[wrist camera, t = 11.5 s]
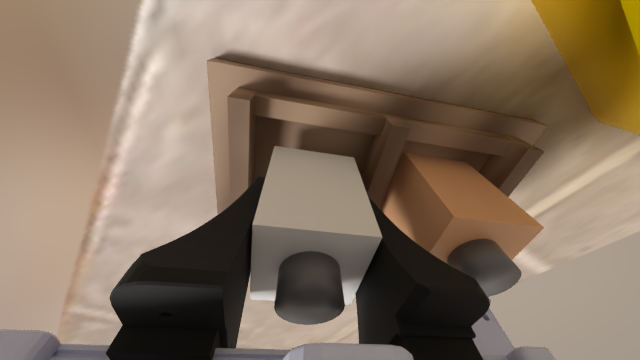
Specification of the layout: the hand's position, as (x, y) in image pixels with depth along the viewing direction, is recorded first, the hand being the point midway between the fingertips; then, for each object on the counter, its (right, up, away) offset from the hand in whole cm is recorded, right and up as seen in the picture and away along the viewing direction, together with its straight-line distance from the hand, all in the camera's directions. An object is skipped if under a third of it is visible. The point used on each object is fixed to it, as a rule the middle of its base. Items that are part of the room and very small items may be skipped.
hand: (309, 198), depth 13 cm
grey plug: (0, +1, +1) cm, 2 cm away
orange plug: (+8, +1, +3) cm, 9 cm away
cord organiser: (+4, +2, +4) cm, 6 cm away
